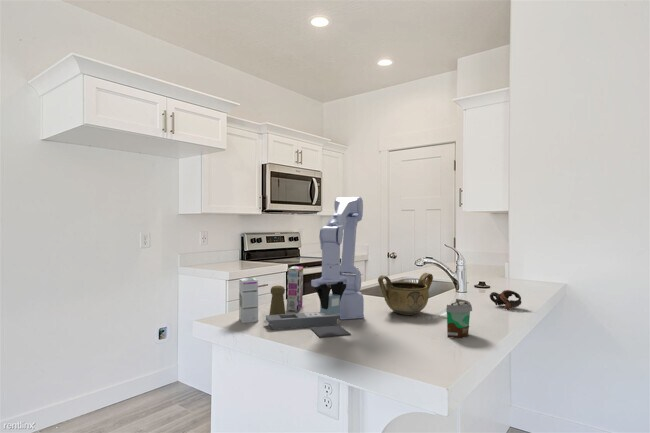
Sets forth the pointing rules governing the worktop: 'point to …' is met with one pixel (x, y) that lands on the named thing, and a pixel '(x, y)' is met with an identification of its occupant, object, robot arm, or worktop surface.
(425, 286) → the ceramic bowl
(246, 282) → the syrup box
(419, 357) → the worktop surface
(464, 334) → the food container
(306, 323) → the power strip
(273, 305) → the tan rounded upright piece
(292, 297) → the candy bar box
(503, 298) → the dark brown looped piece
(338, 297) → the block
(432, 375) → the worktop surface
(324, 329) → the mat
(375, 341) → the worktop surface
